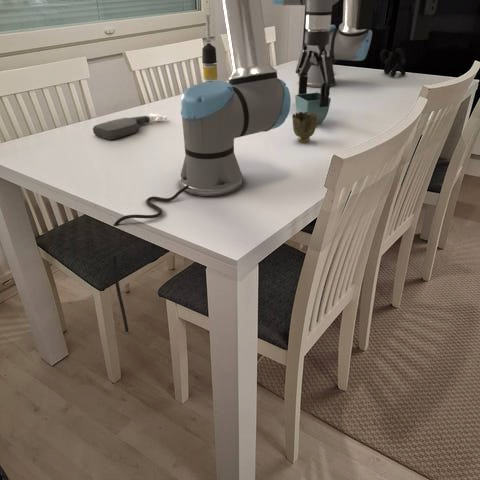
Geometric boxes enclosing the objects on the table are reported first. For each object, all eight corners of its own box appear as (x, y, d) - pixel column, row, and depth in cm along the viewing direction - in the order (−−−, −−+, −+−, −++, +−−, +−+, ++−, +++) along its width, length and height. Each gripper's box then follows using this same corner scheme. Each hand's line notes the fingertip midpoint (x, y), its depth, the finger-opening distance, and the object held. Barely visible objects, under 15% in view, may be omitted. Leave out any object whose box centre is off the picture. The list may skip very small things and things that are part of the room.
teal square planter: (329, 125, 147) (331, 98, 143) (306, 129, 145) (307, 101, 140) (315, 118, 154) (317, 91, 150) (293, 121, 152) (294, 94, 147)
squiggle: (394, 87, 211) (371, 67, 214) (410, 72, 211) (386, 52, 214) (398, 76, 200) (374, 55, 203) (415, 59, 199) (390, 39, 202)
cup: (287, 143, 133) (288, 116, 129) (296, 135, 139) (297, 110, 135) (310, 147, 130) (312, 119, 126) (319, 139, 136) (321, 113, 132)
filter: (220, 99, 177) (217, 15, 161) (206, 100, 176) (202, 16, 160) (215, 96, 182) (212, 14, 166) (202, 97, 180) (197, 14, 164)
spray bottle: (91, 134, 143) (149, 117, 159) (112, 141, 137) (170, 123, 153) (89, 125, 142) (148, 109, 158) (110, 132, 136) (170, 114, 152)
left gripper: (515, -158, 51) (468, 42, 62) (378, -123, 71) (361, 24, 82) (465, -162, 49) (425, 46, 60) (338, -125, 68) (326, 27, 80)
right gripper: (352, 34, 126) (343, 109, 137) (307, 25, 146) (303, 92, 157) (329, 35, 123) (322, 112, 134) (287, 26, 143) (284, 94, 154)
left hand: (388, 34), depth 71 cm, fingers open, 13 cm apart
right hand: (312, 101), depth 146 cm, fingers open, 13 cm apart
